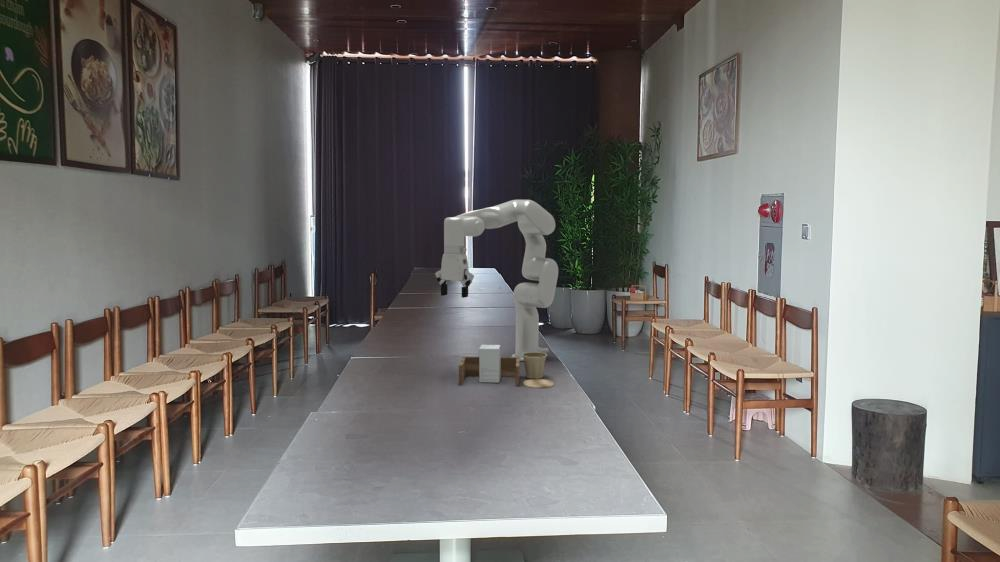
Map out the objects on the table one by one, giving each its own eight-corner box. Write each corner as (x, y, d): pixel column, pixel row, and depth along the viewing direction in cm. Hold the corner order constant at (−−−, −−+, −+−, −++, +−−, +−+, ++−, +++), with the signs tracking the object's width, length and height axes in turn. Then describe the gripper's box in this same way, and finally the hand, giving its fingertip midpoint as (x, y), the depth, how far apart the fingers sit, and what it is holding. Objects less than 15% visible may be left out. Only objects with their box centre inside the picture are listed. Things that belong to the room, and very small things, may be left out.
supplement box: (501, 378, 278) (501, 344, 277) (499, 383, 271) (499, 348, 269) (481, 377, 279) (481, 344, 277) (478, 382, 271) (478, 348, 270)
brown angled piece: (462, 374, 283) (462, 356, 282) (519, 375, 282) (519, 357, 281) (458, 384, 267) (458, 365, 267) (518, 385, 267) (519, 366, 266)
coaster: (543, 379, 277) (543, 377, 277) (559, 386, 267) (560, 384, 267) (517, 382, 272) (517, 380, 271) (533, 389, 262) (533, 387, 262)
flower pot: (517, 378, 278) (517, 355, 277) (528, 373, 286) (528, 351, 285) (540, 381, 274) (540, 358, 273) (550, 376, 282) (551, 353, 281)
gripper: (479, 251, 277) (479, 297, 279) (442, 248, 287) (442, 293, 289) (467, 252, 271) (467, 299, 273) (429, 250, 280) (429, 295, 282)
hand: (454, 296), depth 281 cm, fingers open, 9 cm apart
